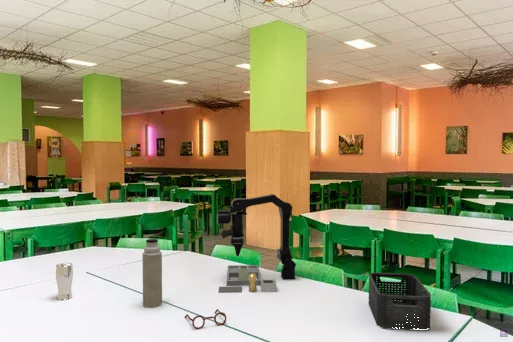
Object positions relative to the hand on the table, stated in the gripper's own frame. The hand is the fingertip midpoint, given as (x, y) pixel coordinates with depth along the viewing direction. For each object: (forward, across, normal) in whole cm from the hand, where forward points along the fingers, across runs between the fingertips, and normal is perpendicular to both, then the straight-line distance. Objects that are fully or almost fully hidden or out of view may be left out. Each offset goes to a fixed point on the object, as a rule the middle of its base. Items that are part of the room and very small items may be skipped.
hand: (237, 253), depth 211 cm
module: (+14, 0, +3) cm, 14 cm away
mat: (+14, +14, -3) cm, 20 cm away
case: (+14, -7, +3) cm, 16 cm away
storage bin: (+15, +48, +64) cm, 81 cm away
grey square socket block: (+14, +14, +15) cm, 25 cm away
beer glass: (+13, +24, -77) cm, 82 cm away
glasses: (+14, +51, -12) cm, 54 cm away
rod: (+14, +16, +7) cm, 23 cm away
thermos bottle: (+14, +33, -36) cm, 51 cm away
